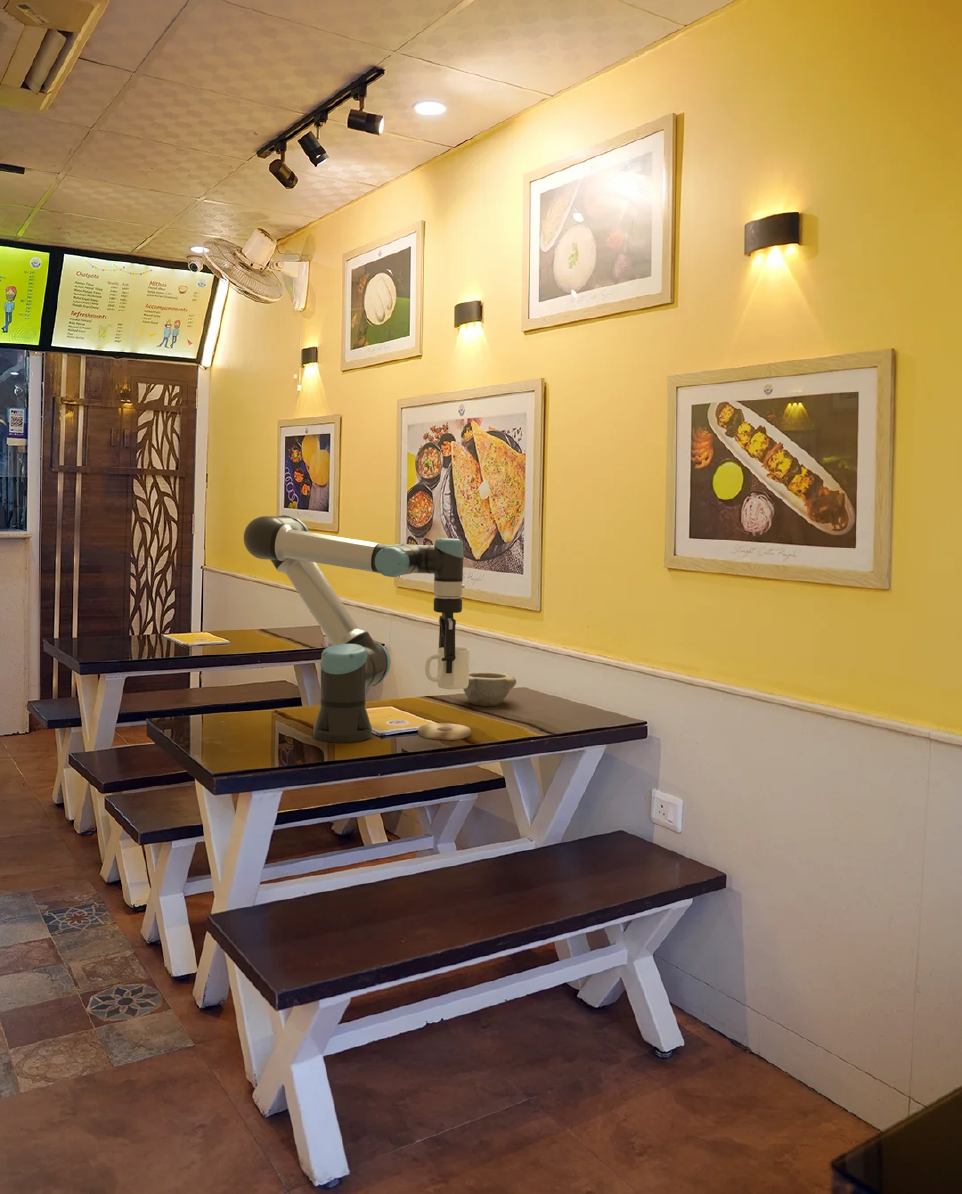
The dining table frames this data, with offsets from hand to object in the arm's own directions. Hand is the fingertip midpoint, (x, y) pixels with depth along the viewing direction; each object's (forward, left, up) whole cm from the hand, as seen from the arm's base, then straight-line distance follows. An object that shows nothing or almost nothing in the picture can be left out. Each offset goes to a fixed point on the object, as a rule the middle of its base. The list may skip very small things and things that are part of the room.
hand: (445, 682), depth 266 cm
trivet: (0, 0, -14) cm, 14 cm away
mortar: (+18, +40, -14) cm, 46 cm away
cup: (0, 0, -1) cm, 2 cm away
